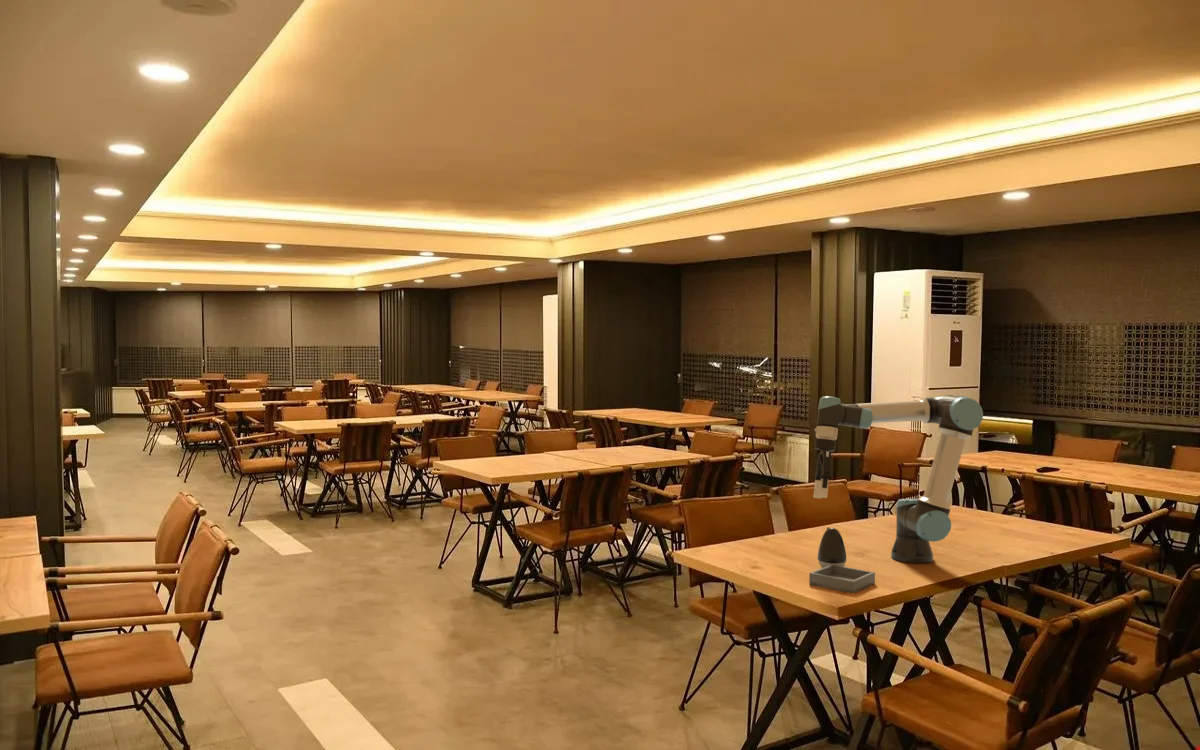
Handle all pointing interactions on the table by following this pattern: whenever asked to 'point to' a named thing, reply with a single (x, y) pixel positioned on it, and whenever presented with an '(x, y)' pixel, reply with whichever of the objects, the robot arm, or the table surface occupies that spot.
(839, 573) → the grey tray
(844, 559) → the dark grey oval piece
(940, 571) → the table surface
